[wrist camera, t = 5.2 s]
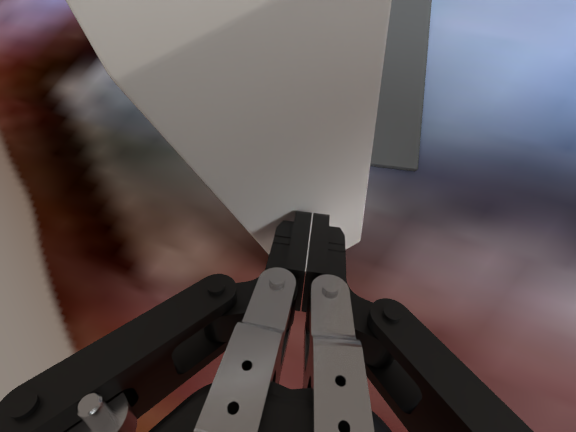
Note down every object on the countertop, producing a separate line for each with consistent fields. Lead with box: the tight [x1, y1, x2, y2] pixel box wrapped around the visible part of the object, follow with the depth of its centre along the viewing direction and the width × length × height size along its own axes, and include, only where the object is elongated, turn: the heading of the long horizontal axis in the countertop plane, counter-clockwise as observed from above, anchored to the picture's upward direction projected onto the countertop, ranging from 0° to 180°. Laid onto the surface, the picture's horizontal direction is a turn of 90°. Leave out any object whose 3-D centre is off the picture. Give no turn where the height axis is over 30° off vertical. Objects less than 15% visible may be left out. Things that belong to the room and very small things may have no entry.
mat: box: [370, 0, 432, 171], centre depth 27 cm, size 23×16×1 cm
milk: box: [66, 0, 392, 271], centre depth 14 cm, size 6×6×22 cm
